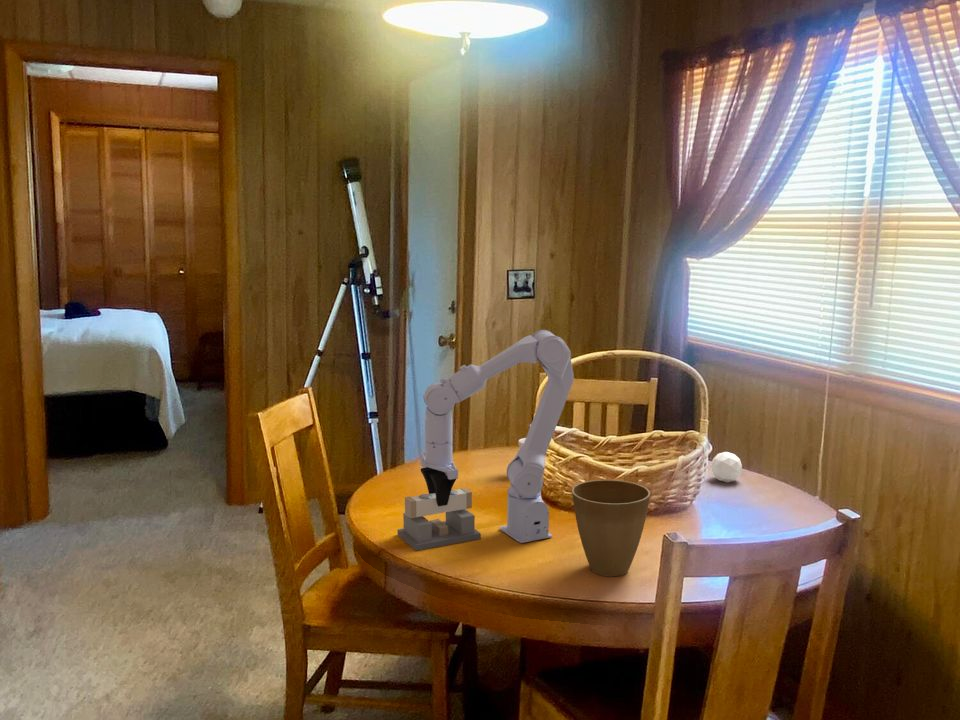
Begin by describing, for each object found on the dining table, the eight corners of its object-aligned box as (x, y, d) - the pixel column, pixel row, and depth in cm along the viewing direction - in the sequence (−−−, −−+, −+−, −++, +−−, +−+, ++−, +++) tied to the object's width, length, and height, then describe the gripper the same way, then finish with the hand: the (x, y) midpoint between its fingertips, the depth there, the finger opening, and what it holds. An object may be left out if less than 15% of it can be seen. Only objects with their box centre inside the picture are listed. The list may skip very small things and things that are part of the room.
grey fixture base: (459, 523, 191) (460, 502, 190) (480, 538, 182) (480, 516, 181) (397, 534, 184) (397, 512, 183) (416, 550, 175) (415, 527, 174)
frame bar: (471, 508, 184) (471, 491, 183) (410, 518, 177) (410, 501, 176) (465, 503, 186) (465, 487, 186) (404, 513, 180) (404, 496, 179)
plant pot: (640, 554, 174) (643, 479, 171) (652, 586, 159) (656, 504, 157) (567, 553, 175) (569, 477, 172) (572, 584, 160) (574, 502, 157)
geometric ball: (727, 488, 225) (742, 463, 226) (735, 487, 217) (751, 460, 218) (702, 473, 226) (717, 447, 227) (709, 471, 218) (725, 444, 219)
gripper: (407, 434, 184) (408, 495, 186) (436, 451, 171) (436, 516, 173) (437, 431, 187) (437, 490, 189) (467, 447, 174) (467, 510, 177)
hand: (438, 502), depth 182 cm, fingers closed on frame bar, 3 cm apart
